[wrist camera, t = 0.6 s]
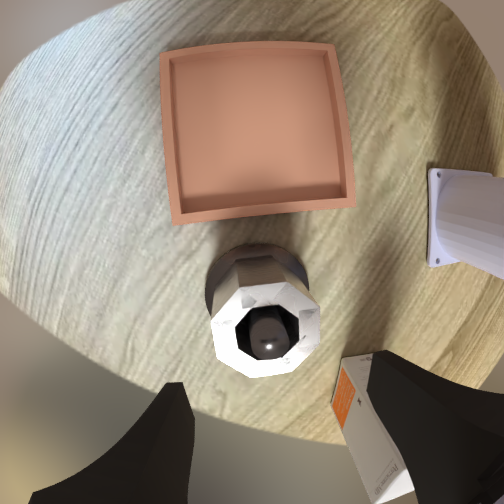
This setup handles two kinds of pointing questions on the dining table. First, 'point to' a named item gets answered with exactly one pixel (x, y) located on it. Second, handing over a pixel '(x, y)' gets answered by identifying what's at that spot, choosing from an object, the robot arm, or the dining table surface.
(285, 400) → the dining table surface
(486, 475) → the robot arm
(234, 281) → the octagonal pencil cup
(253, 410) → the dining table surface
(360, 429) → the skincare box
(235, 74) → the tray
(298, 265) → the stand
